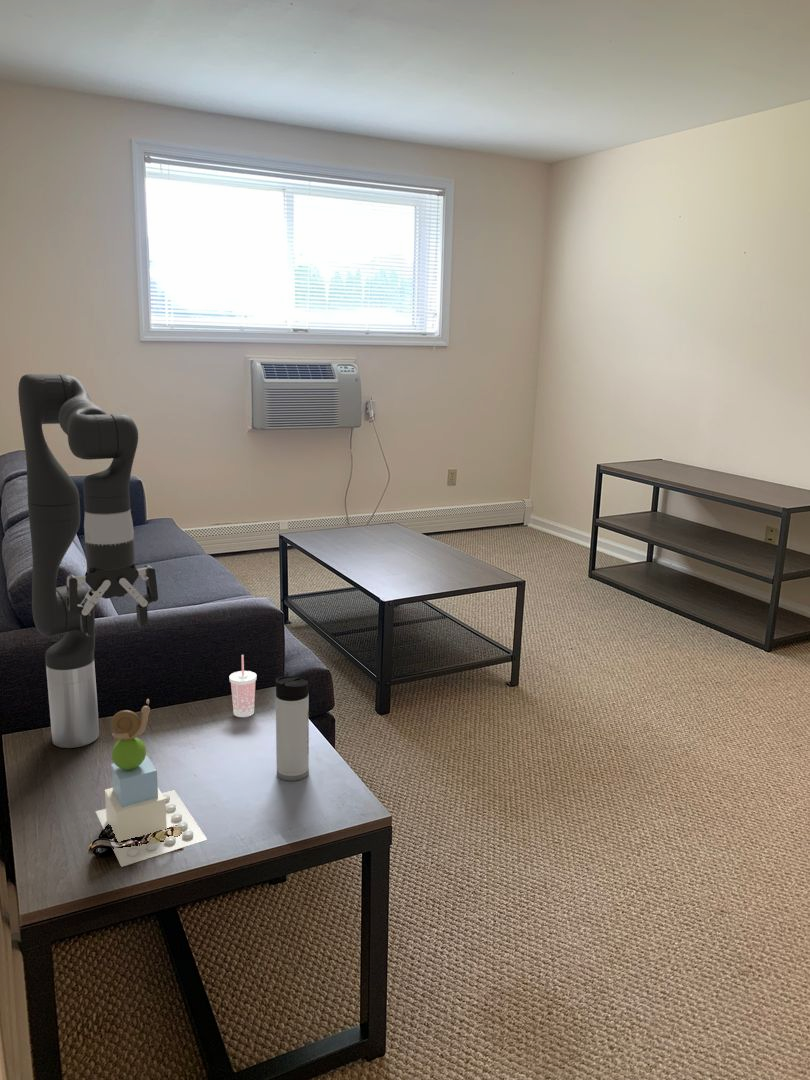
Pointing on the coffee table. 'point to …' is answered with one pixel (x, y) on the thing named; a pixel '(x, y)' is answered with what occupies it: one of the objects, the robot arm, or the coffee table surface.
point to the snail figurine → (129, 738)
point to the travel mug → (292, 728)
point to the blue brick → (135, 783)
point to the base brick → (135, 816)
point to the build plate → (174, 816)
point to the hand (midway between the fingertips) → (115, 630)
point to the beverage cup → (243, 691)
